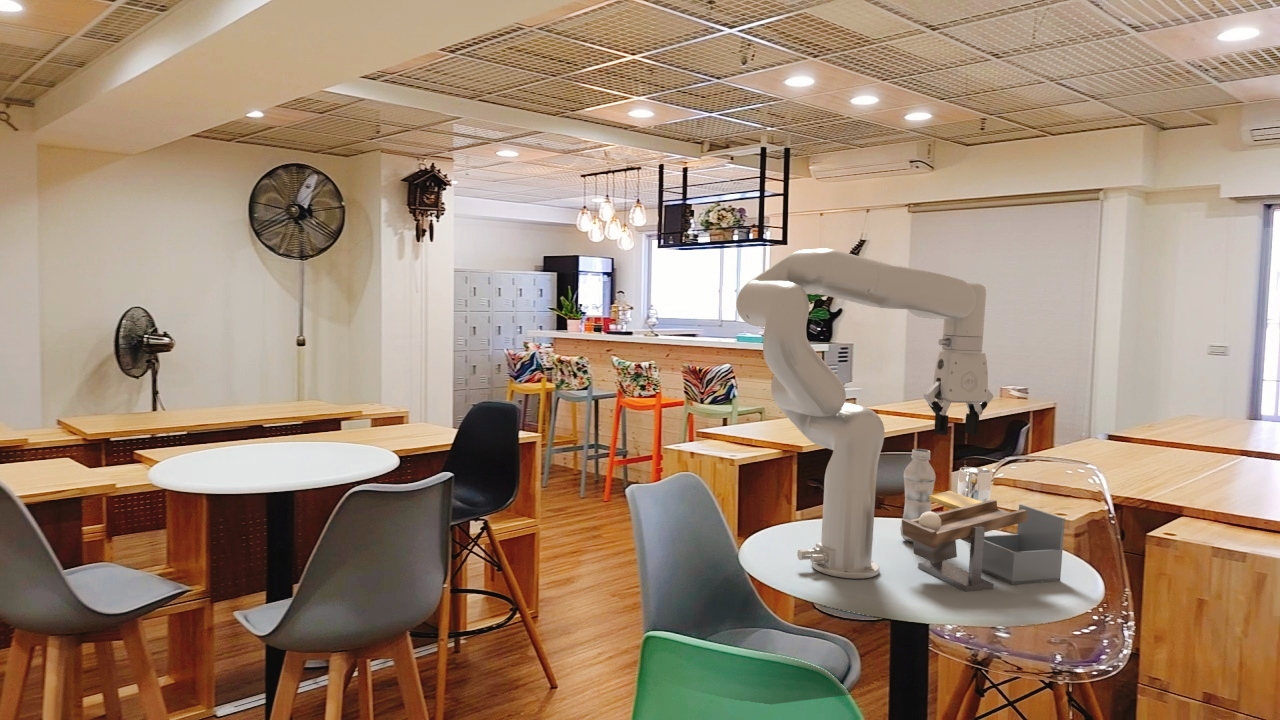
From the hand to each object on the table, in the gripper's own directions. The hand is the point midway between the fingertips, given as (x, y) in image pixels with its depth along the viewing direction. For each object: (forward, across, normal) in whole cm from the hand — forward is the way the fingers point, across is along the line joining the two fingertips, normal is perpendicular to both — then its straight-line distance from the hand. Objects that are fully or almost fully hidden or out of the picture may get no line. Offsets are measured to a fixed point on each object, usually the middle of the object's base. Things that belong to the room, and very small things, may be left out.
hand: (956, 433), depth 176 cm
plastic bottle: (+26, +1, +12) cm, 29 cm away
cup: (+26, +7, -11) cm, 29 cm away
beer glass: (+26, +17, +14) cm, 34 cm away
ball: (+15, -13, -11) cm, 23 cm away
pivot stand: (+26, -7, -11) cm, 29 cm away
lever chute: (+20, -5, -6) cm, 21 cm away
